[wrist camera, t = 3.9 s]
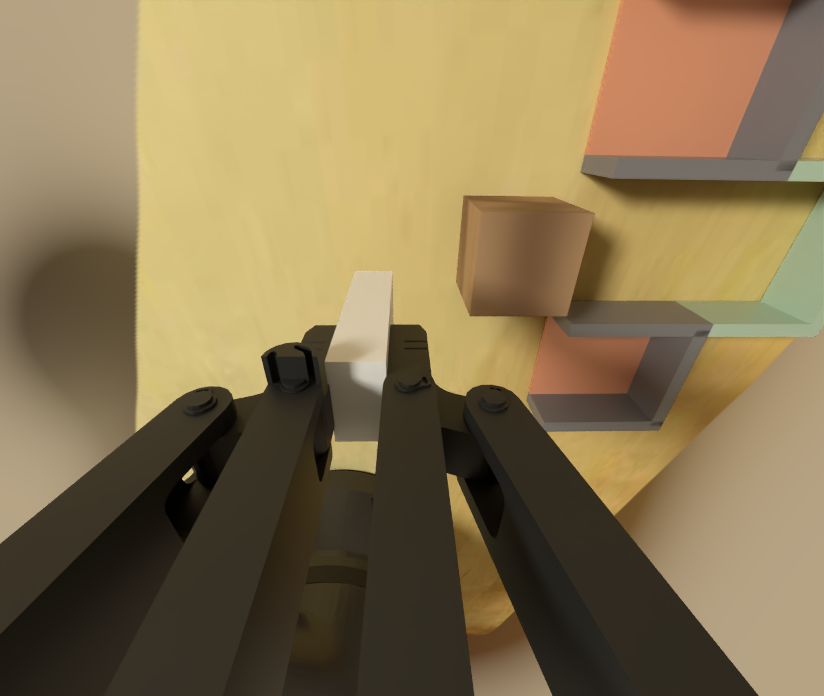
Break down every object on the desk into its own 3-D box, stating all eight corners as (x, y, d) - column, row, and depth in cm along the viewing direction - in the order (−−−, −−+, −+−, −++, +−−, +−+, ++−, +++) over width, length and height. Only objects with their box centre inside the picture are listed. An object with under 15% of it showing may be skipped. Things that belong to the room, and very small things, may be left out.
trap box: (526, 400, 33) (541, 431, 29) (633, -51, 18) (690, -96, 14) (714, 399, 33) (751, 429, 30) (972, -38, 18) (1105, -78, 15)
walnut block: (456, 281, 26) (469, 316, 21) (463, 195, 23) (481, 211, 18) (534, 281, 27) (566, 316, 22) (552, 196, 24) (594, 213, 18)
